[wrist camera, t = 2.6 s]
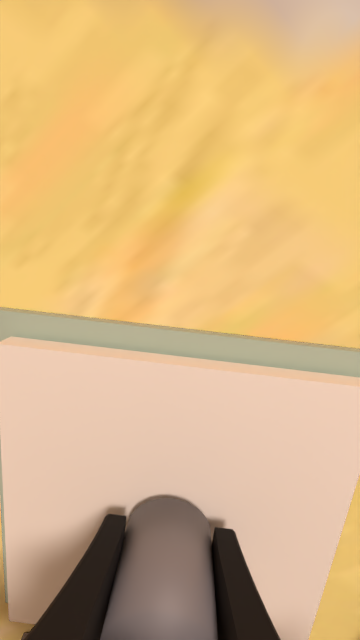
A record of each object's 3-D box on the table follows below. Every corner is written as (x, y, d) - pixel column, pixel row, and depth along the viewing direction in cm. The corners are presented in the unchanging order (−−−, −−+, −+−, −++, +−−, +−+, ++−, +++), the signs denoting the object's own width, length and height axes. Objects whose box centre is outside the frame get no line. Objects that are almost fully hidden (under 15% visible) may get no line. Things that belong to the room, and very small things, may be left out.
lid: (370, 378, 10) (506, 477, 6) (295, 634, 13) (346, 825, 9) (11, 336, 10) (-123, 400, 6) (19, 598, 13) (-65, 769, 9)
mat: (387, 352, 10) (394, 355, 10) (303, 629, 14) (306, 640, 13) (-2, 306, 10) (-10, 309, 10) (10, 592, 14) (5, 602, 13)
